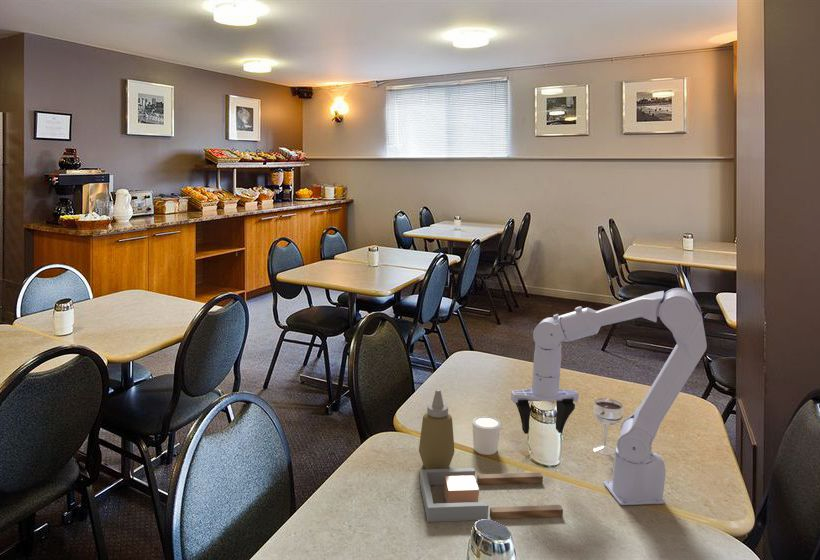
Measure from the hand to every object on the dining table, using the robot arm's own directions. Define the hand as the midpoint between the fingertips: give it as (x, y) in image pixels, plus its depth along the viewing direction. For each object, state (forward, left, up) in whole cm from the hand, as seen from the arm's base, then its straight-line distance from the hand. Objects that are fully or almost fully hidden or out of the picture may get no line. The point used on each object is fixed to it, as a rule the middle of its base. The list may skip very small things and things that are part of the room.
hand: (542, 431), depth 115 cm
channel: (+8, +10, -9) cm, 16 cm away
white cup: (+10, -10, -10) cm, 17 cm away
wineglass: (-19, -8, -10) cm, 23 cm away
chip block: (+20, +10, -10) cm, 24 cm away
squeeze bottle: (+23, -3, -10) cm, 25 cm away
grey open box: (+21, +10, -9) cm, 25 cm away
